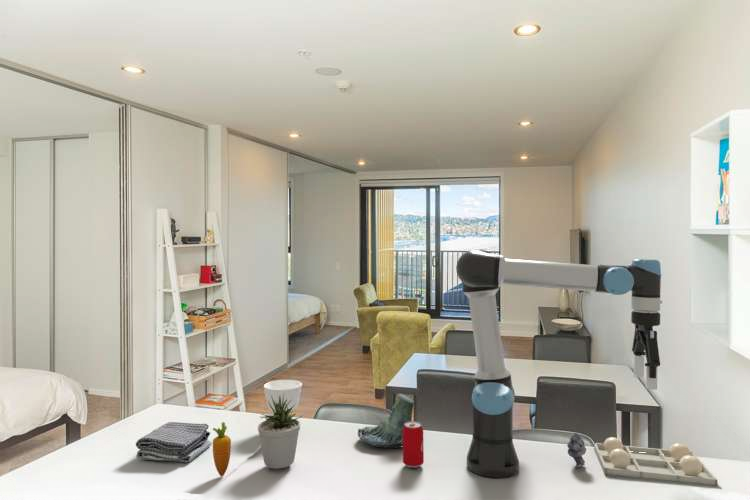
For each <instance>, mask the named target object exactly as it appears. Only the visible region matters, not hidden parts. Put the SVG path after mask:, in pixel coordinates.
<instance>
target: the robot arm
mask: <svg viewBox="0 0 750 500" xmlns="http://www.w3.org/2000/svg"><path fill="white" fill-rule="evenodd" d="M455 267H456V268H455V269H456V271H455V272H456V274H457V277H458V279H459V281H461V286H462V294H464V295H465V296H467V298H468V304H469V311H470V320H471V328H472V333H473V334H472V335H473V341H474V348H475V349H474V350H475V356H476V365H477V371H476V372H475V373H474V376H473V378H474V385H475V386H474V388H473V390H472V394H471V402H472V403H471V404H472V438H471V443H470V445H469V448H468V451H467V455H466V466H467V468H468V469H469V470H470V471H471V472H473V473H474V474H478V475H481V476H483V477H484V476H485V477H488V478H508V477H512V476H514V475H516V474H517V473H518V472H519V470H520V461H519V457H518V454H517V451H516V448H515V445H514V442H513V441H514V440H513V439H514V438H513V437H514V436H513V427H514V426H513V420H514V419H513V418H514V417H513V415H514V414H513V412H514V405H515V399H516V393H515V389H514V387H513V382H512V374H511V372H510V370H508V369H507V368H506V366H505V358H504V352H503V343H502V342H503V341H502V336H501V329H500V322H499V313H498V306H497V299H496V294H497V293H498V291H499V290H500V288H501V287H502V286H503V285H508V286H509V285H512V286H519V287H520V286H523V287H534V288H535V287H536V288H543V289H544V288H546V289H558V290H568V291H569V290H570V291H583V292H593V293H596V292H597V293H603V294H611V295H614V296H615V295H616V296H621V295H625V294H627V293H629V292H630V291H631V299H630V300H631V301H630V304H631V306H630V307H631V310H632V312H631V315H630V317H631V324H633V325H634V334H633V340H632V342H633V343H632V348H631V351H632V353H633V377H634V378H645V389H646V390H658V368H659V367H661V361H660V360H661V359H660V353H659V352H660V351H659V346H658V345H659V344H658V332H657V330H654V329H653V327H658V326H661V313H660V311H661V304H663V300H661V284H662V281H661V280H662V279H661V278H662V272H661V262H660V261H659V260H658V259H648V258H646V259H645V258H641V259H640V258H639V259H638V258H634V259H632V261H631V264H630V265H618V264H617V265H616V264H615V265H613V264H612V265H611V264H608V265H607V264H597V265H596V264H584V263H581V264H580V263H567V262H557V261H556V262H554V261H542V260H527V259H515V258H514V259H513V258H505V257H504V255H502V254H491V253H490V252H489V251H487V250H484V249H472V250H468V251H466V252H464V253H463V254H461V255H460V257H459V258H458V260H457V262H456V266H455ZM645 359H646V362H645Z"/></svg>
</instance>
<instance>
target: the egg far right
mask: <svg viewBox="0 0 750 500" xmlns="http://www.w3.org/2000/svg"><path fill="white" fill-rule="evenodd" d="M668 450H669V452H670V455H671V457H672V458H673V459H674V460H675V461H677V462H680V459H681V458H682V457H683V456H686V455H691V454H690V452H691V451H690V449H689V448H688V446H687V445H686V444H683V443H679V442H675V443H672V445H670V447H669V449H668Z"/></svg>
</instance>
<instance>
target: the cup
mask: <svg viewBox="0 0 750 500" xmlns="http://www.w3.org/2000/svg"><path fill="white" fill-rule="evenodd" d="M302 386H303V383H302V382H301V381H299V380H295V379H278V380H277V379H276V380H272V381H268V382H267V383H264V385H263V391H264V395H265V399H266V405H267V408H268V409H269V411H270V412H271V413H274V412H273V410H272V408H273V409H274V411H275V407H274V404H273V401H272V398H273V400H274V402H275V400H276V402H278V403H279V396H280V397H281V407H282V400H283V393H284V400H283V403H284V402H285V401H286V400H287V399H288V400H287V401H286V403H285V404H286V405H287V404H288V403H289V401H290V403H289V404H288V405H287V407H288V409H290V408H292V407H293V406H294V407H293V408H292V410H291V411H290V413H293V412H294V411H296V409H297V407H298V405H299V402H300V395H301V392H302ZM271 395H272V397H271ZM268 401H269V402H268ZM276 402H275V403H276ZM269 403H270V405H271V406H272V408H271V407H270V405H269ZM286 405H285V406H286ZM285 406H284V408H285ZM287 407H286V410H285V411H287ZM292 411H293V412H292ZM275 412H276V411H275ZM288 416H290V414H289V415H288Z"/></svg>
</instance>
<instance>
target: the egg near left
mask: <svg viewBox="0 0 750 500" xmlns="http://www.w3.org/2000/svg"><path fill="white" fill-rule="evenodd" d="M610 461H611V463H612V464H613V465H614V466H615V467H617V468H620V469H624V468H626V467H628V466H629V464H630V457H629V455H628V453H627V452H626V451H624V450H622V449H614V450H612V451H611V453H610Z"/></svg>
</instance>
